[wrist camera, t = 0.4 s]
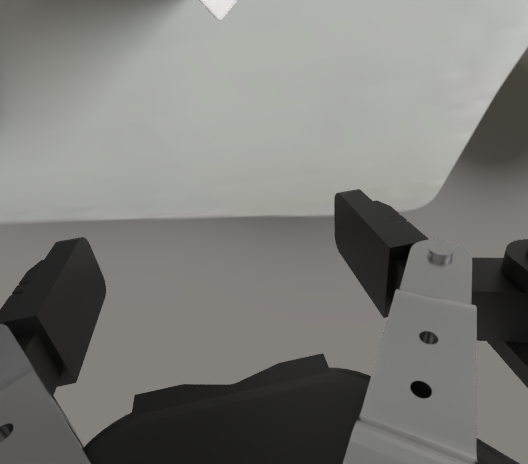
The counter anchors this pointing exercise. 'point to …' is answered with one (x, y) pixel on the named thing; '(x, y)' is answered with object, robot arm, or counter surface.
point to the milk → (218, 7)
